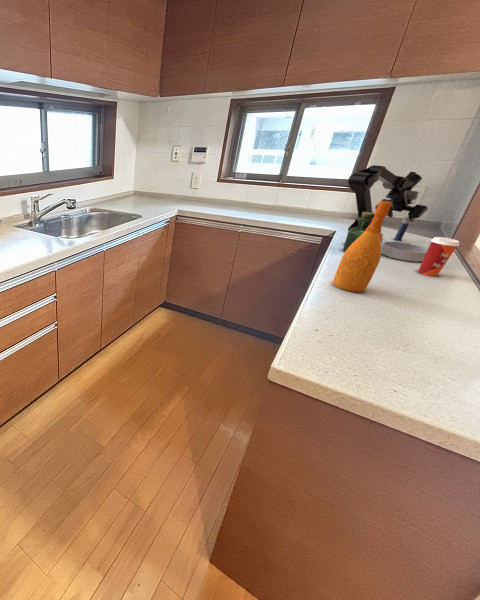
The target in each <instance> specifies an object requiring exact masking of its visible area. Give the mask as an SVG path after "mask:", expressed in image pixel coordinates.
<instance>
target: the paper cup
mask: <svg viewBox="0 0 480 600" xmlns="http://www.w3.org/2000/svg"><path fill="white" fill-rule="evenodd" d="M459 246H460V241H459V239H458V240H457V239H455V238H449V237H443V236H434V237H433V238H432V239H431V240H430V244H429V246H428V248H427V249H428V250H427V252H426V255H425V257H424V259H423V261H421V264H420V266H419V268H418V270H417V272H418V274H421V275H424V276H428V277H437V276H438V275H439V274H440V273H441V271H442V269H443V268H444V267H445V265H446V264H447V263H448V261H449V260H450V258H451V256H452V255H453V253H454V252H455V251H456V249H457V247H459Z"/></svg>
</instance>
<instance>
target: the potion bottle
mask: <svg viewBox="0 0 480 600" xmlns="http://www.w3.org/2000/svg"><path fill="white" fill-rule="evenodd" d="M373 213H374V212H372V213H369V212H362V217H358V216H357V217H358V218H357V217H356V218H357V219H356V218H355V219H356V220H357V221H359V222H358V226H357V227H353V228H351V229H349V231H348V230H347V234H346V237H345V241H344V243H345V244H343V248H342V251H343V252H344V253H345V252H346V250H347V249H348V248H349V246H350V245H351V244H352V243H353V242H354V241H355V240H356V239H358V238H359V237H360V236H361V235H362V234H363V233H364V232H365V230H366V229H367V228H366V226H367V225H368V224H369V223H370V222H372V220H373V219H371V216H372V215H373Z"/></svg>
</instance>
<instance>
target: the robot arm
mask: <svg viewBox="0 0 480 600" xmlns="http://www.w3.org/2000/svg"><path fill="white" fill-rule="evenodd" d="M422 179H423V177H422V176H421V175H420V174H418V173H417V171H409V173H408V174H407V175H406V176H400V175H397V174H394V173H393V172H392V171H390V170H389V169H388V168H387V167H386V166H384V165H377V164H376V165H373V164H372V165H370V166H369V167H367V168H364V169H360V170H358V171H356V172H353V174H351V175H350V176H349V178H348V180H347V181H348V182H347V183H348V186H349V189H350V190H351V191H353V192H354V193H355V201H356V202H355V203H356V209H357V217H356V218H355V219H354V221H353V223H352V224H350V226H348V229H347V232H348V231H349V229H351V228H353V227H357V226H358V222H359V221H357V220H356V219H357V218H358V217H362V212H369V213H373V215H372V216H371V219H373V218H374V216H375V215H374V212H373V207H372V198H371V197H372V196H371V188H372V187H374V185H375V183H377V182H378V181H379V182H381V183H382V184H381V186H382V187H383V188H384V189H385V190H389V191H388V193H386V195H385V198H382V199H381V200H380V201H390V202H392V206H391V208H390V209H389V211H388V215H387V216H386V217H388V218H390V219H392V218H393V217H394V213H393V212H399V213H402V212H403V211H405V212H408V213H407V217H408V218H409V220H410V221H411V222H410V223H414V221H415V220H416V219H419V218H420V217H421V216H422V215H424V214H425V213H426V212H427V211H428V205H424V204H418V203H417V204H415V206H414V205H413V206H412V204H413V201H414V200H416V199H418V195H419V191H416V190H413V189H414V188H415V187H416V186H417V185H418V184H419V183H420V182H421V181H422ZM377 206H378V203H377V204H376V205H375V207H374V208H375V210H376V209H377ZM370 224H371V222H370V223H369V224H368V225H367V226H366V228H368V226H369V225H370ZM344 244H345V242H344ZM344 244H343V245H344Z"/></svg>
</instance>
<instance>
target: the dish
mask: <svg viewBox="0 0 480 600" xmlns="http://www.w3.org/2000/svg"><path fill="white" fill-rule="evenodd" d="M427 250H428V248H427V247H424V246H421V245H417V244H413V243H408V242H402V241H390V240H389V241H388V240H387V241H382V242H381V255H383V256H386V257H388V258H391V259H394V260H399V261H404V262H415V263H416V262H417V263H418V262H422V261H423V259H424V257H425V255H426V252H427Z"/></svg>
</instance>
